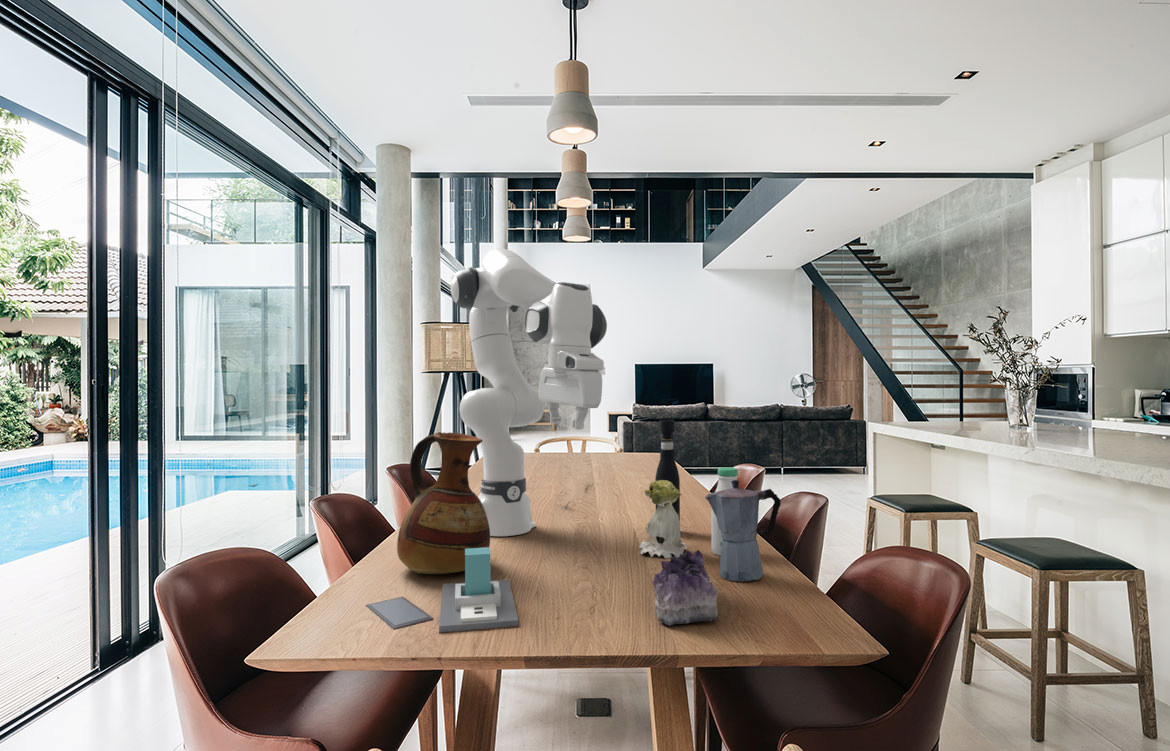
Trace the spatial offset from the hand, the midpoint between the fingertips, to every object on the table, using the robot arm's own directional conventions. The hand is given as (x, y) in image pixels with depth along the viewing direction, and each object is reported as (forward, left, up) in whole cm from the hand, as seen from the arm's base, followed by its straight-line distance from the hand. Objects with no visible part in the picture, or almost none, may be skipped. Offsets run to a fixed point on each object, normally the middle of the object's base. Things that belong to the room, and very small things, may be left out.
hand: (566, 426), depth 133 cm
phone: (0, -35, -32) cm, 48 cm away
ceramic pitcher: (-20, -19, -32) cm, 42 cm away
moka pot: (+20, +31, -32) cm, 48 cm away
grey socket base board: (+5, -22, -31) cm, 39 cm away
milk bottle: (+6, +41, -32) cm, 52 cm away
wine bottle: (-17, +42, -32) cm, 55 cm away
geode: (+27, +9, -32) cm, 42 cm away
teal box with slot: (+5, -22, -30) cm, 38 cm away
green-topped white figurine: (-4, +29, -32) cm, 43 cm away
